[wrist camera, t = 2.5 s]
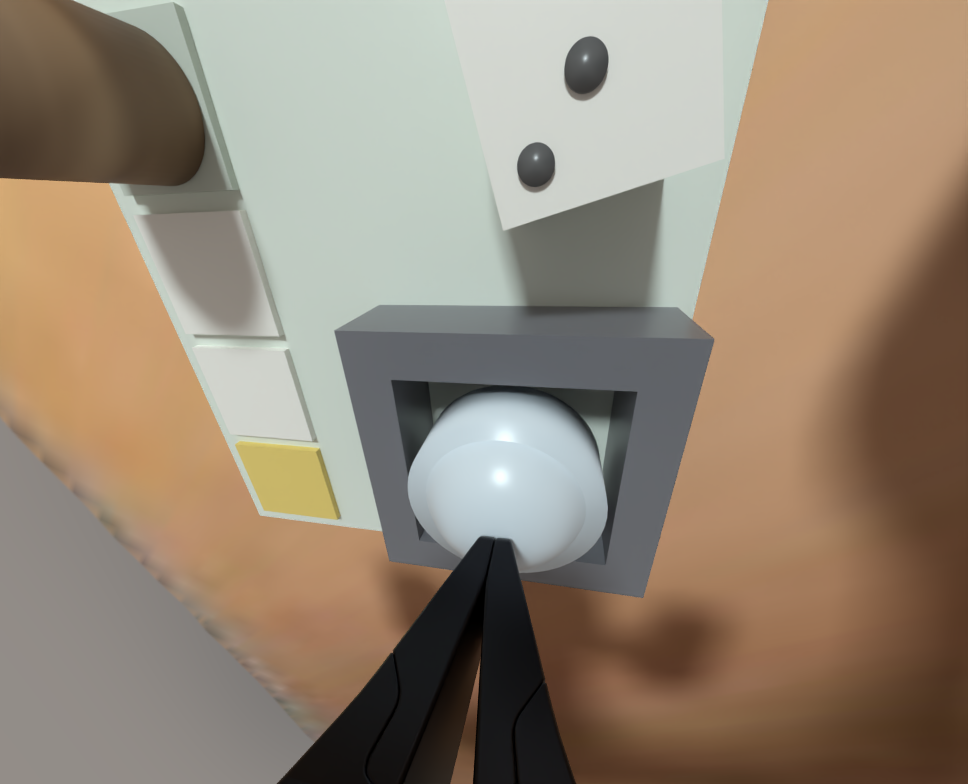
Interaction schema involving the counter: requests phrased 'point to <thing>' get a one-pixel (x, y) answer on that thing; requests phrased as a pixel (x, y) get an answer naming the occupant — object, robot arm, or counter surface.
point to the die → (589, 95)
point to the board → (371, 222)
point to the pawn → (92, 99)
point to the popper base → (536, 363)
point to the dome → (511, 477)
